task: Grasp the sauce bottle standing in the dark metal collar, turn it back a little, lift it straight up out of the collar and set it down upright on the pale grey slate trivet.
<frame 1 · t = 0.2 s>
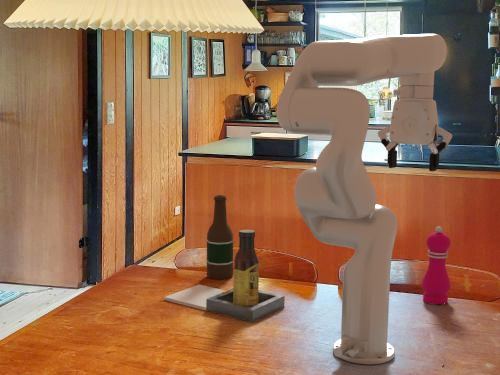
hand: (412, 169, 151), 37 cm above the table, tool pointing down, fingers open, 9 cm apart
beer bottle: (219, 277, 192), on the table
pepper mill: (435, 302, 171), on the table
sauce bottle: (245, 309, 164), resting in collar
trivet: (202, 298, 172), on the table
collar: (245, 308, 164), on the table
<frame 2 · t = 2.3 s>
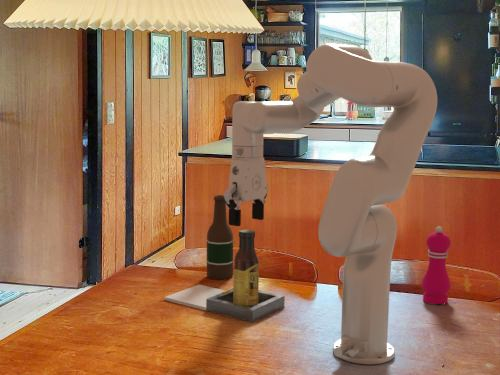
hand: (246, 222, 161), 22 cm above the table, tool pointing down, fingers open, 9 cm apart
nothing on the table moved.
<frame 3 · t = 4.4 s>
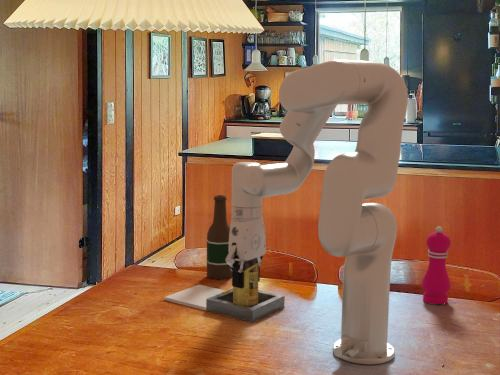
hand: (246, 283, 163), 7 cm above the table, tool pointing down, fingers closed on sauce bottle, 6 cm apart
sauce bottle: (245, 309, 164), resting in collar, touching gripper
everything else where it was.
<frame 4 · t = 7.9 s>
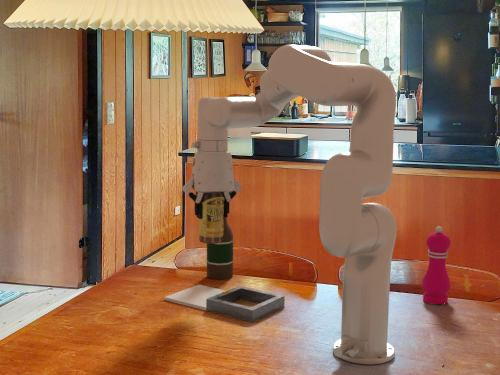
hand: (211, 216, 167), 22 cm above the table, tool pointing down, fingers closed on sauce bottle, 6 cm apart
sauce bottle: (211, 242, 168), point 15 cm above the table, touching gripper
everything else where it was.
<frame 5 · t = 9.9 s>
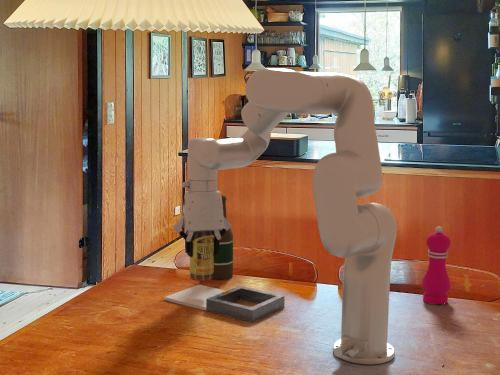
hand: (202, 254, 170), 12 cm above the table, tool pointing down, fingers closed on sauce bottle, 6 cm apart
sauce bottle: (202, 279, 171), point 5 cm above the table, touching gripper
everything else where it was.
when the fingers open (9 cm above the table, at t = 11.5 s): sauce bottle drops 1 cm, resting on trivet.
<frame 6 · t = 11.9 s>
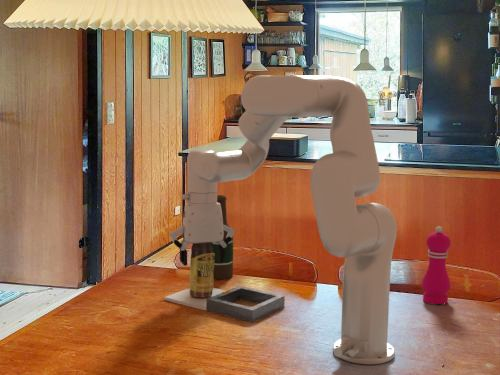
hand: (202, 263, 170), 10 cm above the table, tool pointing down, fingers open, 9 cm apart
sauce bottle: (201, 296, 171), point 1 cm above the table, touching trivet
everything else where it was.
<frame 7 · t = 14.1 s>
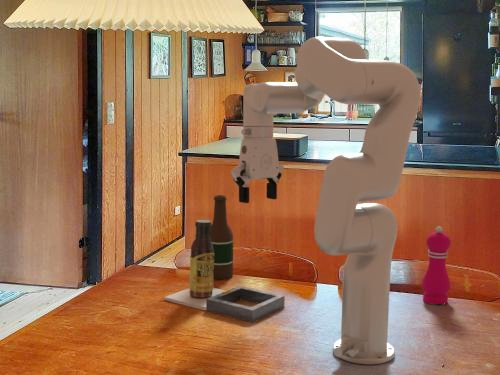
hand: (258, 200, 167), 26 cm above the table, tool pointing down, fingers open, 9 cm apart
nothing on the table moved.
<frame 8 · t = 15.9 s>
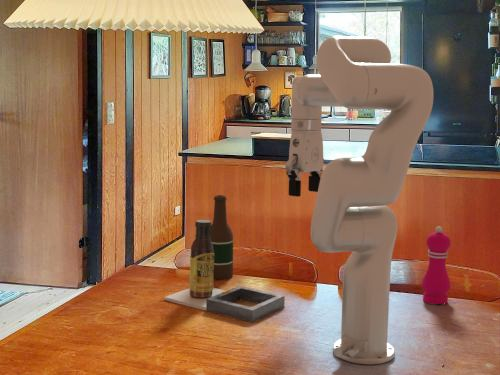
hand: (304, 193, 166), 28 cm above the table, tool pointing down, fingers open, 9 cm apart
nothing on the table moved.
at the end: sauce bottle 0.3 cm from the trivet (horizontally); sauce bottle tilted 0°; the gripper is holding nothing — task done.
